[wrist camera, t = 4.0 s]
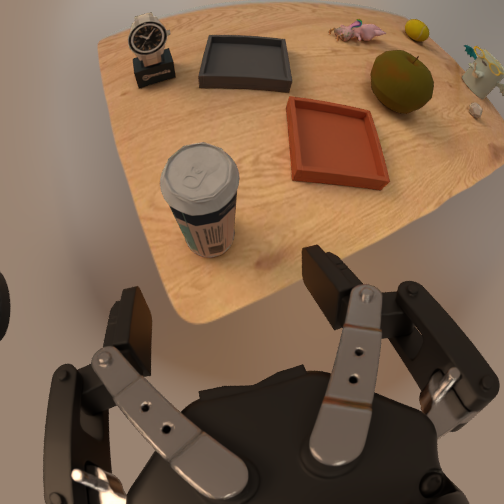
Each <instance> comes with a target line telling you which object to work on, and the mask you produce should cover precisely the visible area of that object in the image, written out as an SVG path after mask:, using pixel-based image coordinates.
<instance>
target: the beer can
mask: <svg viewBox="0 0 504 504" xmlns="http://www.w3.org/2000/svg"><path fill="white" fill-rule="evenodd" d="M238 185H239V172H238V168H237V166H236V164H235V162H234V161H233V159H232V158H231V157H230V156H229V155H228V154H227V153H226V152H224V151H223V149H222V148H219V147H216V146H213V145H210V144H208V143H205V142H202V143H196V144H191V145H186V146H183V147H182V148H180V149H179V150H178V151H177V152H176V153H174V154H173V155H172V156H171V157H170V158H169V159H168V162H167V163H166V165H165V167H164V169H163V172H162V174H161V179H160V187H161V192H162V194H163V197H164V199H165V200H166V202H167V203H168V204H169V206H170V208H171V210H172V212H173V215H174V217H175V219H176V221H177V223H178V225H179V227H180V229H181V231H182V233H183V235H184V237H185V240H186V243H187V245H188V247H189V248H190V249H191V250H192V251H193V252H194V253H196V254H197V255H200V256H203V257H215V256H219V255H221V254H223V253H224V252H225V251H227V250H228V249H229V247H230V246H231V244H232V243H233V240H234V234H235V232H234V224H235V210H236V197H237V188H238Z"/></svg>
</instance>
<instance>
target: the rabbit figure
mask: <svg viewBox="0 0 504 504" xmlns="http://www.w3.org/2000/svg"><path fill="white" fill-rule="evenodd" d="M352 28H353V30H352ZM332 30H334V32H335V35H336V36H337V38H335V39H337V41H339V37H340V38H341V40H343V41H348V40H349V39H350V38H351V37H352V38H354V37H358V38H359V39H358V40H359V41H361V40H362V39H363V40H365V41H368V40H371V39H372V38H373V37H374V36H380V35H383V34H386V33H385V32H384V31H381V29H380V28H379V27H377V26H376V25H373V24H368V25H367V24H362V21H361V20H360V19H357V21H356V22H354V23H352V24H351V25H350V26H348V27H346V26H343V25H341V27H339V28H337V29H336V28H333V29H330V30H329V35H330V34H331V31H332Z"/></svg>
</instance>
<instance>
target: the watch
mask: <svg viewBox="0 0 504 504" xmlns="http://www.w3.org/2000/svg"><path fill="white" fill-rule="evenodd" d="M134 19H135V23H132V26H131V31H130V35H129V38H128V44H129V48H130V49H131V50H132V52H134V53H135V55H136V56H137V58H134V59H133V67H134V74H135V77H136V81H137V84H138V87H139V88H142V87H145V86H148V85H151V84H154V83H158V82H161V81H165V80H168V79H172V78H176V76H175V69H174V62H173V59H172V56H171V53H170V50H169V48H168V49H164V47H165V43H166V40H167V36H168V35H170V30H166V29H165V27H164V26H163V25H162V24H161V23H160V21H159V20H158V18H157V17H153V14H152V12H150V13H146V14H143V15H139V16H136V17H135V18H134Z"/></svg>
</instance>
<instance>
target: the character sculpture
mask: <svg viewBox="0 0 504 504" xmlns="http://www.w3.org/2000/svg"><path fill="white" fill-rule="evenodd" d="M464 46H465V47H466V50H465V51H467V54H469V55H470V57H471V56H472V57H474V59H475V61H474V62H473V64H471V63H469V66H470V67H469V69H468V70H467V71H466V72H465V73H464V75H463V76H462V79H463V81H464V82H465V83H466V85H467V86H468V87H469V88H470V90H471V91H472V92H473V93H474V94H476V95H477V96H478V97H479V98H481V99H484V98H485V97H486V96H487V95H488V94H489V93H490V92H491V91H492V90H493V88H495V86H498V87H499V88H500V92H501V93H502V96H504V84H500V83H499V82H500V81H501V80H502V79H503V78H504V67H503V66H502V65H501V64H500V63H499V61H497V59H496V58H495V57H494V56H493V55H492V54H490V53H489V52H488V51H487V50H485V49H484V50H482V49H480V48H479V47H477V46H475V47H474V49H472V48H471V47H470V46H468V45H464ZM476 48H478V49H480V50H481V51H482V52H481V54H480V55H478V57H476V54H477V53H476Z"/></svg>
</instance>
